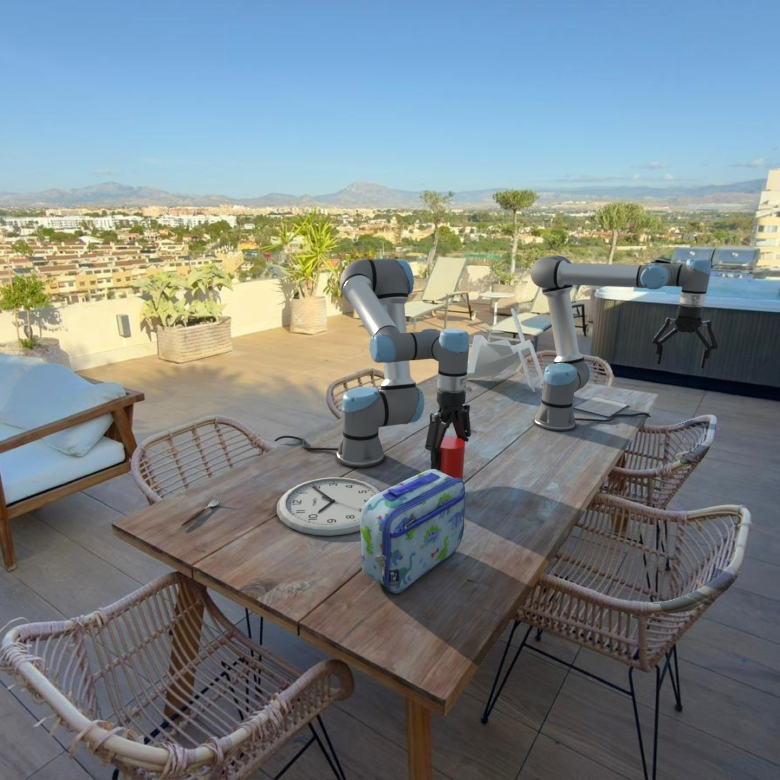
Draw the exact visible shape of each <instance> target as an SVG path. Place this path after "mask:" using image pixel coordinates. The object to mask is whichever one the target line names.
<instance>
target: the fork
mask: <svg viewBox="0 0 780 780" xmlns="http://www.w3.org/2000/svg"><path fill="white" fill-rule="evenodd" d="M224 494H225V493H223V492H220V491H217V492H216V494H215V495H214V496H213V498H212V499H211V500H210V502H209V503H208V504H207V506H206V507H204V508H202V509H200V510H198V511H197V512H195V513H194V514H193V515H192V516H190V517H189V518H188V519H186V520H185V521H184V522H183V523H182V524H181V525H180V526H181V527H183V526H185V525H187V524H189V523H190V522H191V521H193V520H195V519H196V518H198V517H199V516H201V515H202V514H203V513H204V512H205V511H206V510H207V509H208V508H212V507H216V506H218V505H219V504H220V503H221V501H222V498H223V497H224Z"/></svg>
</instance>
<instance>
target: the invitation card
mask: <svg viewBox="0 0 780 780" xmlns="http://www.w3.org/2000/svg"><path fill="white" fill-rule="evenodd" d="M628 406H629V404H627V403H623V402H618V401H614V400H609V399H605V398H601V397H596V396H593V397H592V398H590V399H588V400H586V401H584V402H582V403H580V404H578V405H575V406H574V407H573V409H575V410H581V411H584V412H587V413H593V414H596V415H600V416H604V417H608V418H609V417H611V416H612V415H615V414H616V413H617V412H619V411H621V410H623V409H624V408H626V407H628Z"/></svg>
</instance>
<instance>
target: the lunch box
mask: <svg viewBox="0 0 780 780" xmlns="http://www.w3.org/2000/svg"><path fill="white" fill-rule="evenodd" d="M463 480H464V479H463ZM463 480H462V479H460V478H452V477H450V476H448V475H446V474H444V473H442V472H440V471H438V470H436V469H431V468H430V469H427V470H425V471H423V472H420V473H417V474H416V475H413V476H412V477H409V478H407V479H405V480H403V481H401V482H399V483H397V484H395V485H393V486H390V487H388V488H386V489H385V490H383V491H381V493H378V494H376V495H375V496H373V497H371V498H370V499H369V500H368V501H367V502H366V504H365V505H364V507H363V510H362V513H361V520H360V531H359V532H360V562H361V563H360V564H361V569H362V573H363V574H364V575H365V576H366V577H368V578H370V579H372V580H374V581H376V582H378V583H379V584H380V585H382V586H384V587H385V589H386V591H389V592H391V593H392V594H399V593H402V592H403V591H405V590H406V589H407V588H409V586H411V585H412V584H413V583H415V582H416V581H418V580H419V579H420V578H421V577H423V576H424V575H426V574H427V573H428V572H429V571H431V570H432V569H433V568H434V567H435V566H436V565H438V564H439V563H441V562H443V561H445V560H446V559H448V558H449V557H450V556H452V555H453V554H454V553H455V552H456V551H457V549H458V548H459V546H460V544H461V542H462V539H463V536H464V531H465V517H466V516H465V514H466V513H465V512H466V487H465V482H464V481H463Z"/></svg>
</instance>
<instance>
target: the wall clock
mask: <svg viewBox="0 0 780 780" xmlns="http://www.w3.org/2000/svg"><path fill="white" fill-rule="evenodd" d="M381 492H382V491H381V490H380V489H379V488H377V487H376V486H374V485H372V484H371V483H369V482H365V481H362V480H359V479H355V478H349V477H338V476H337V477H335V476H333V477H332V476H331V477H322V478H317V479H312V480H307V481H305V482H302V483H299V484H297V485H295V486H293V487H292V488H290V489H288V490H287V491H286V492H285V493H284V494H283V495H281V496H280V498H279V499H278V502H277V503H276V515H277V517H278V518H279V520H280V521H281V522H282V523H283V524H285V525H286V526H287V527H288V528H290V529H293V530H295V531H297V532H299V533H303V534H308V535H312V536H327V537H328V536H329V537H331V536H332V537H333V536H342V535H350V534H352V533H356V532H360V520H361V513H362V510H363V507H364V505H365V504H366V502H367V501H368V500H369V499H370V498H371V497H373V496H375V495H376V494H378V493H381Z"/></svg>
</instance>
